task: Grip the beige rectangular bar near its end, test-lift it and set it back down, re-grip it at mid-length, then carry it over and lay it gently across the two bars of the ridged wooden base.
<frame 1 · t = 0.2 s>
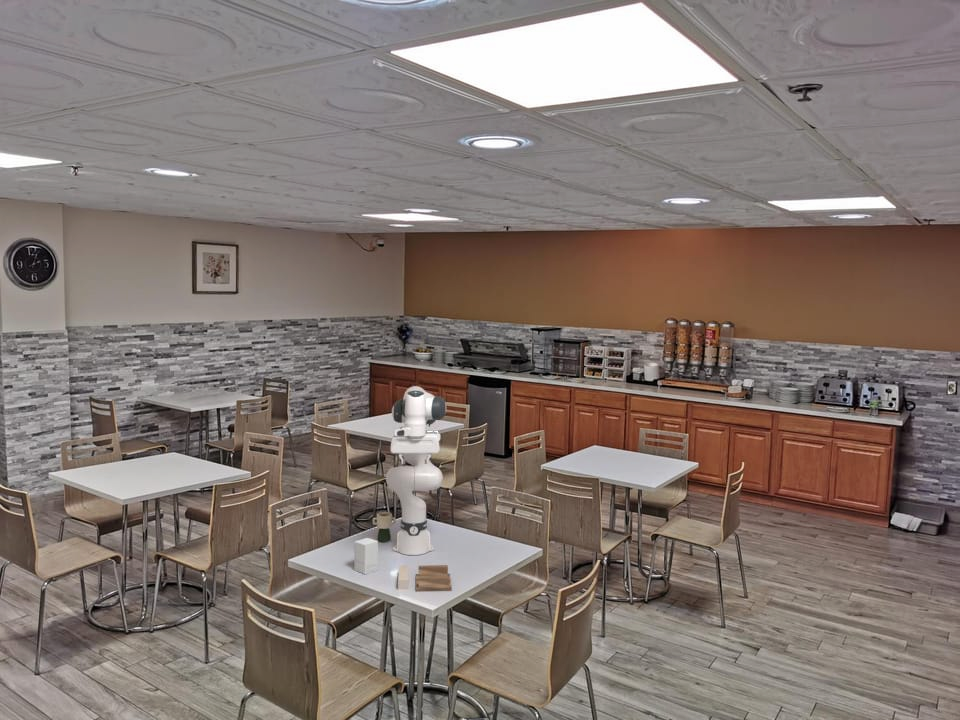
hand: (414, 463, 292), 47 cm above the table, tool pointing down, fingers open, 8 cm apart
character mug: (384, 541, 338), on the table
ridged wooden base: (433, 583, 287), on the table
beige rectangular bar: (403, 582, 289), on the table
supplement box: (366, 570, 300), on the table
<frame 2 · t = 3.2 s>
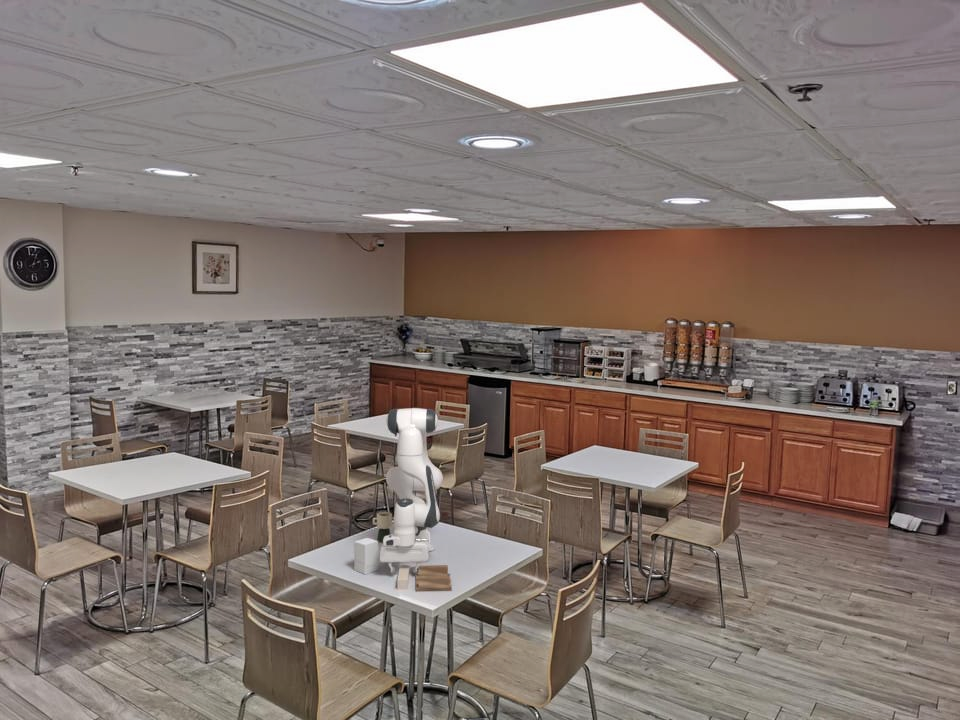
hand: (403, 571, 293), 2 cm above the table, tool pointing down, fingers open, 8 cm apart
nothing on the table moved.
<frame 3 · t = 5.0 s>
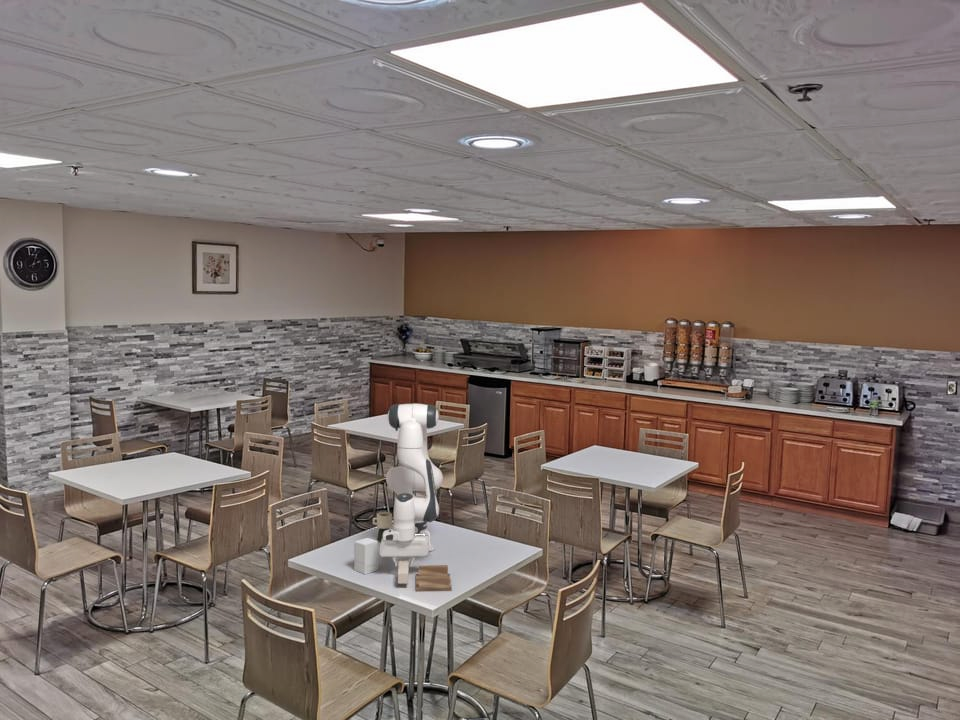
hand: (403, 566, 294), 4 cm above the table, tool pointing down, fingers closed on beige rectangular bar, 4 cm apart
beige rectangular bar: (403, 575, 289), point 2 cm above the table, touching gripper
everything else where it was.
when the fingers open (2 cm above the table, at t = 6.4 s): beige rectangular bar stays where it is, on the table.
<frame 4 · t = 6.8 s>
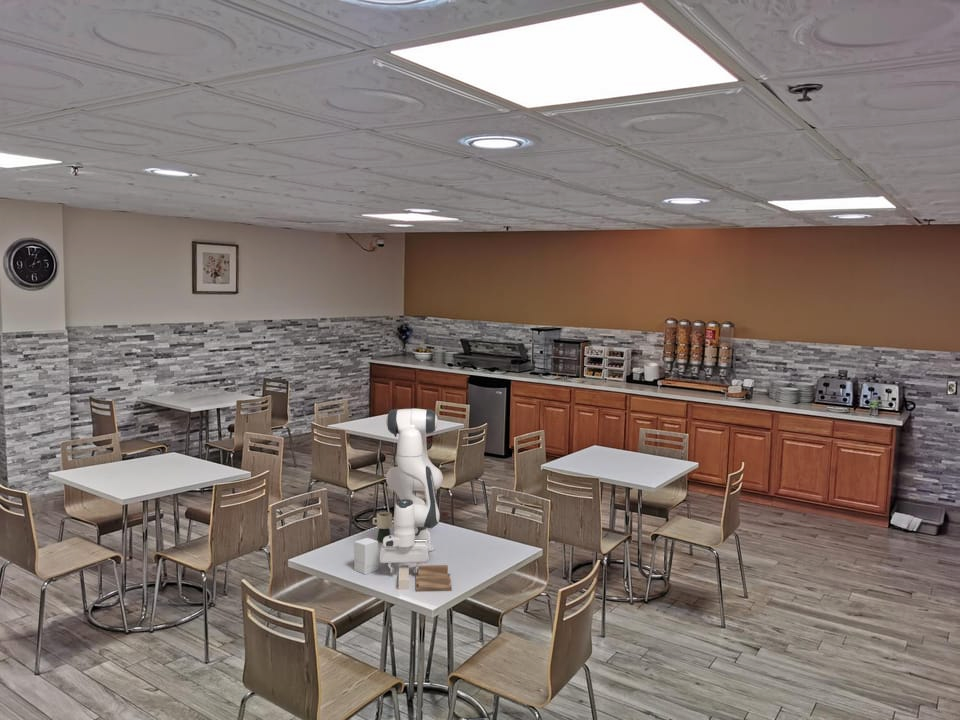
hand: (403, 572, 293), 2 cm above the table, tool pointing down, fingers open, 8 cm apart
beige rectangular bar: (403, 582, 289), on the table
everything else where it was.
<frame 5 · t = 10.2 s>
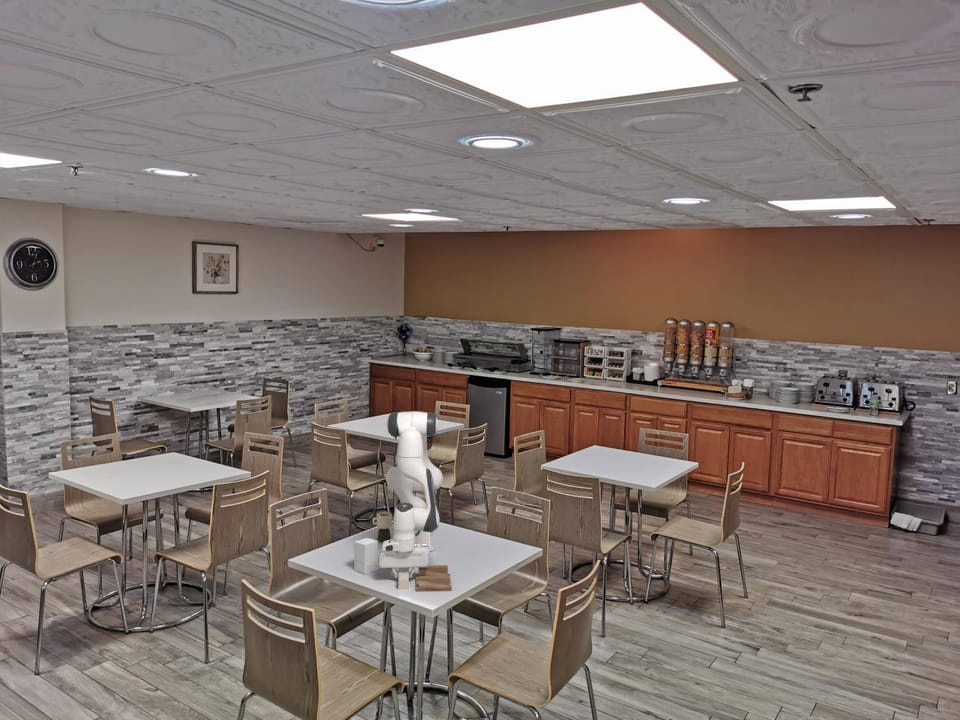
hand: (403, 577, 289), 2 cm above the table, tool pointing down, fingers closed on beige rectangular bar, 4 cm apart
beige rectangular bar: (403, 581, 289), on the table, touching gripper
everything else where it was.
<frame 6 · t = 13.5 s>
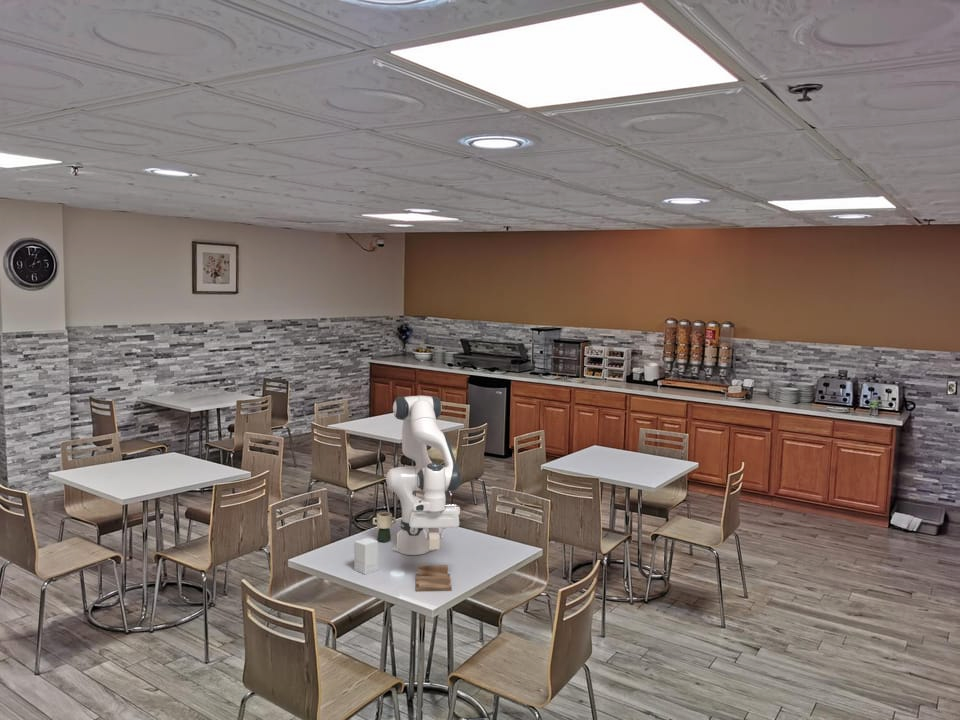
hand: (434, 538, 285), 19 cm above the table, tool pointing down, fingers closed on beige rectangular bar, 4 cm apart
beige rectangular bar: (433, 542, 285), point 17 cm above the table, touching gripper
everything else where it was.
when the fingers open (8 cm above the table, at t = 16.3 s): beige rectangular bar stays where it is, resting on ridged wooden base.
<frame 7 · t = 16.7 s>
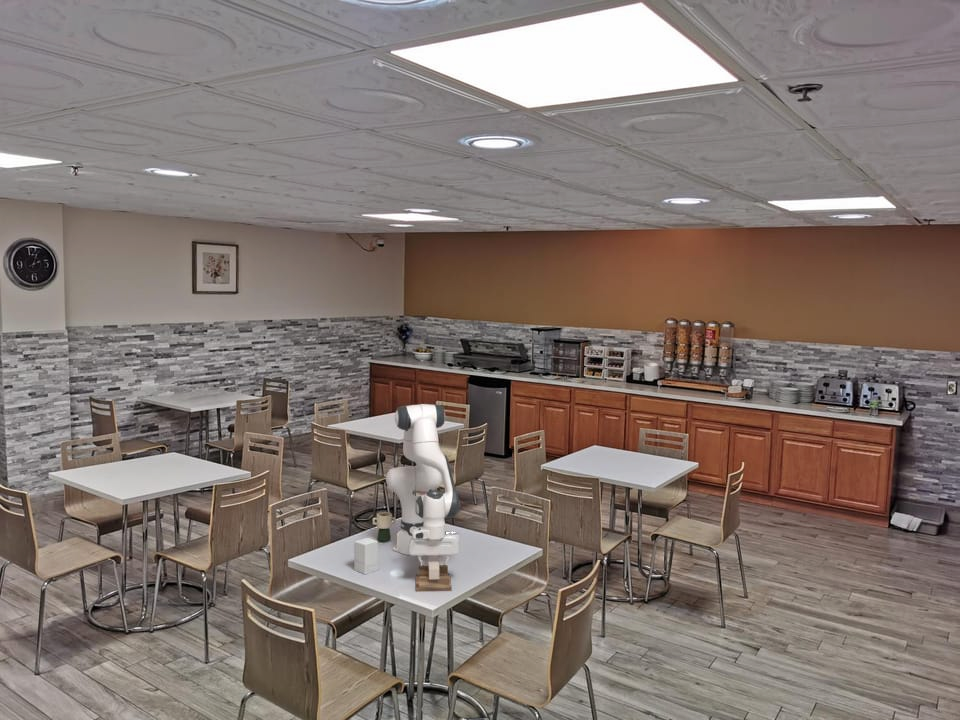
hand: (433, 565, 286), 8 cm above the table, tool pointing down, fingers open, 8 cm apart
beige rectangular bar: (433, 571, 286), point 5 cm above the table, touching ridged wooden base
everything else where it was.
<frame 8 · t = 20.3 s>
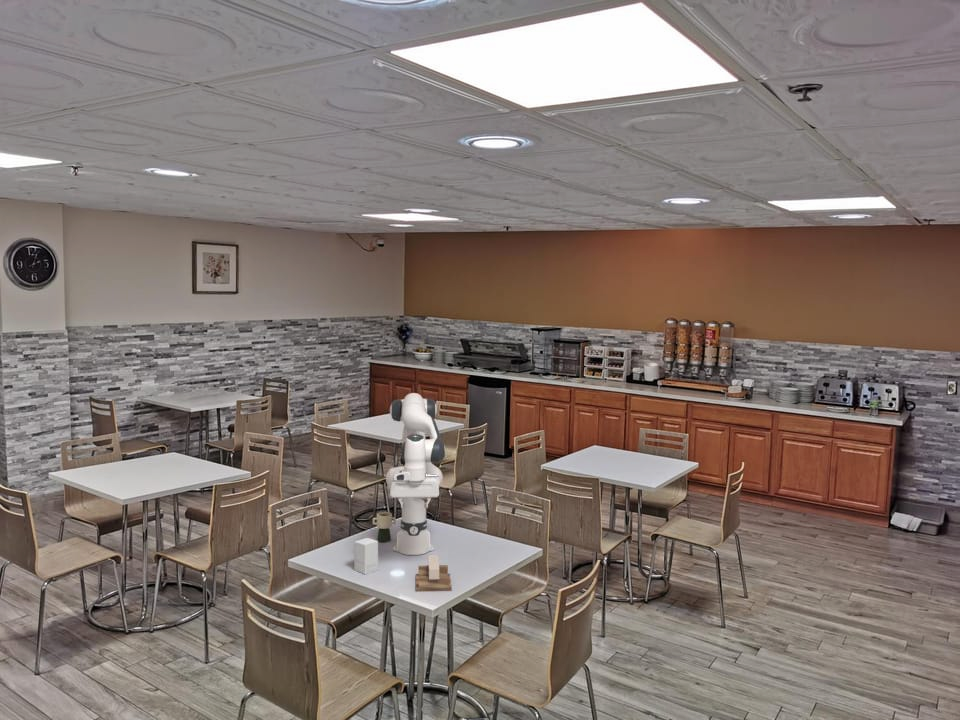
hand: (414, 507, 292), 29 cm above the table, tool pointing down, fingers open, 8 cm apart
nothing on the table moved.
at the end: beige rectangular bar 0.1 cm off-centre on the ridged wooden base, point 5.0 cm above the ridged wooden base's base; beige rectangular bar tilted 0°; the gripper is holding nothing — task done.
